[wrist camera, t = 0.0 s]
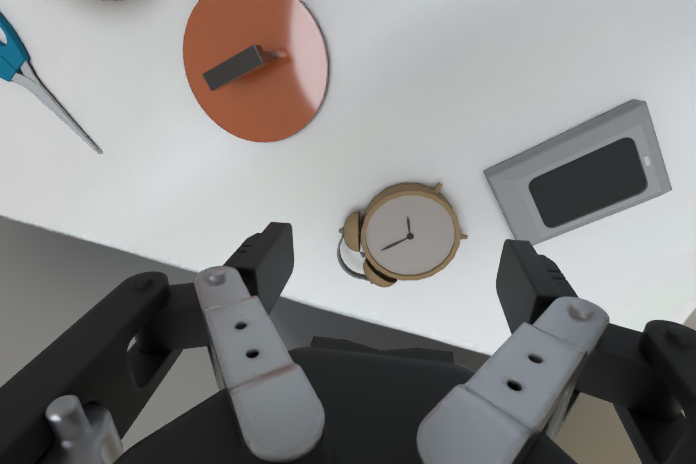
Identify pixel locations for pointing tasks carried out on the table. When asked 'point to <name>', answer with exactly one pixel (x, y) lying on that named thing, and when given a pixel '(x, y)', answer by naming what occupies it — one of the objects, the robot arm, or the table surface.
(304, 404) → the robot arm
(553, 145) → the grey flat box
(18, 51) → the scissors
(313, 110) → the lid
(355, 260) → the table surface
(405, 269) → the alarm clock
